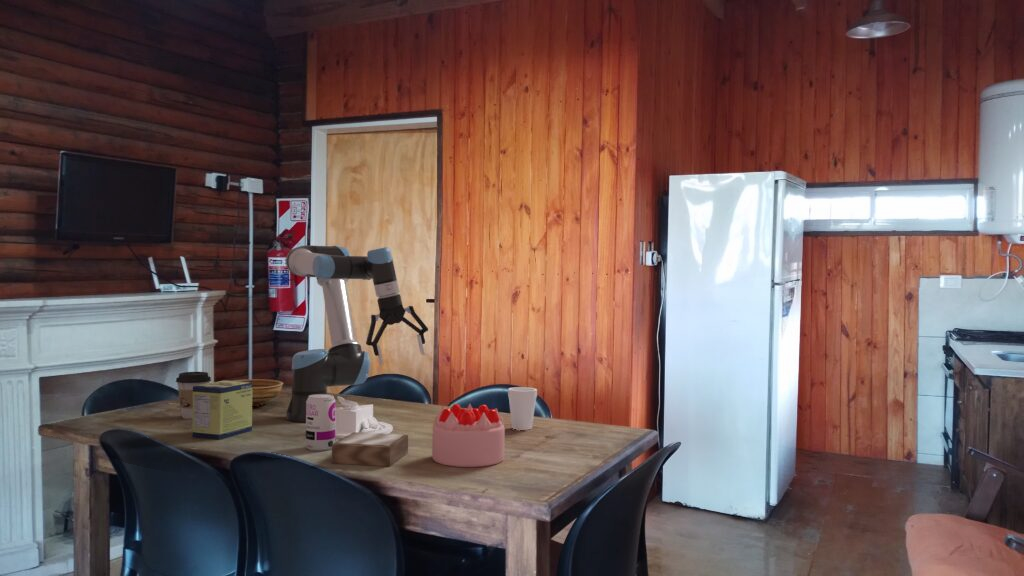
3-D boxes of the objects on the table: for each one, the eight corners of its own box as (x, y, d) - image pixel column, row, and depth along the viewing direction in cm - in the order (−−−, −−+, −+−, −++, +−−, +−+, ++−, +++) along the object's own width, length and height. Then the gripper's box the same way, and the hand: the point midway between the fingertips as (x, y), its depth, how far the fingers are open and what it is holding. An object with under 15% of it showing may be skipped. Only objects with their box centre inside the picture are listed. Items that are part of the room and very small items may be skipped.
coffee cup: (167, 418, 266) (168, 374, 266) (192, 412, 277) (193, 370, 276) (193, 421, 262) (194, 376, 262) (218, 415, 272) (218, 372, 272)
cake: (428, 467, 205) (429, 413, 205) (435, 450, 225) (436, 400, 225) (503, 468, 205) (504, 414, 205) (504, 451, 225) (505, 401, 225)
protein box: (253, 430, 248) (253, 381, 248) (219, 440, 234) (220, 388, 233) (225, 427, 252) (226, 379, 252) (191, 437, 237) (191, 385, 237)
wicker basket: (196, 404, 294) (197, 383, 293) (249, 396, 314) (249, 376, 314) (249, 413, 278) (249, 390, 278) (301, 404, 298) (301, 383, 298)
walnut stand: (331, 463, 208) (332, 443, 207) (353, 449, 223) (353, 431, 223) (390, 466, 205) (390, 446, 205) (408, 452, 221) (408, 434, 221)
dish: (355, 443, 234) (355, 405, 233) (296, 433, 247) (296, 397, 247) (408, 430, 254) (408, 395, 254) (351, 421, 268) (351, 388, 267)
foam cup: (540, 427, 260) (541, 388, 260) (529, 432, 252) (530, 392, 251) (514, 424, 264) (515, 386, 264) (502, 429, 256) (503, 389, 255)
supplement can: (338, 445, 229) (339, 394, 228) (329, 451, 220) (330, 398, 220) (311, 444, 229) (312, 393, 229) (301, 450, 221) (301, 397, 221)
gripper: (351, 305, 245) (366, 370, 247) (428, 287, 252) (442, 351, 254) (348, 303, 252) (363, 367, 254) (423, 286, 259) (436, 349, 261)
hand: (402, 359), depth 254 cm, fingers open, 13 cm apart
